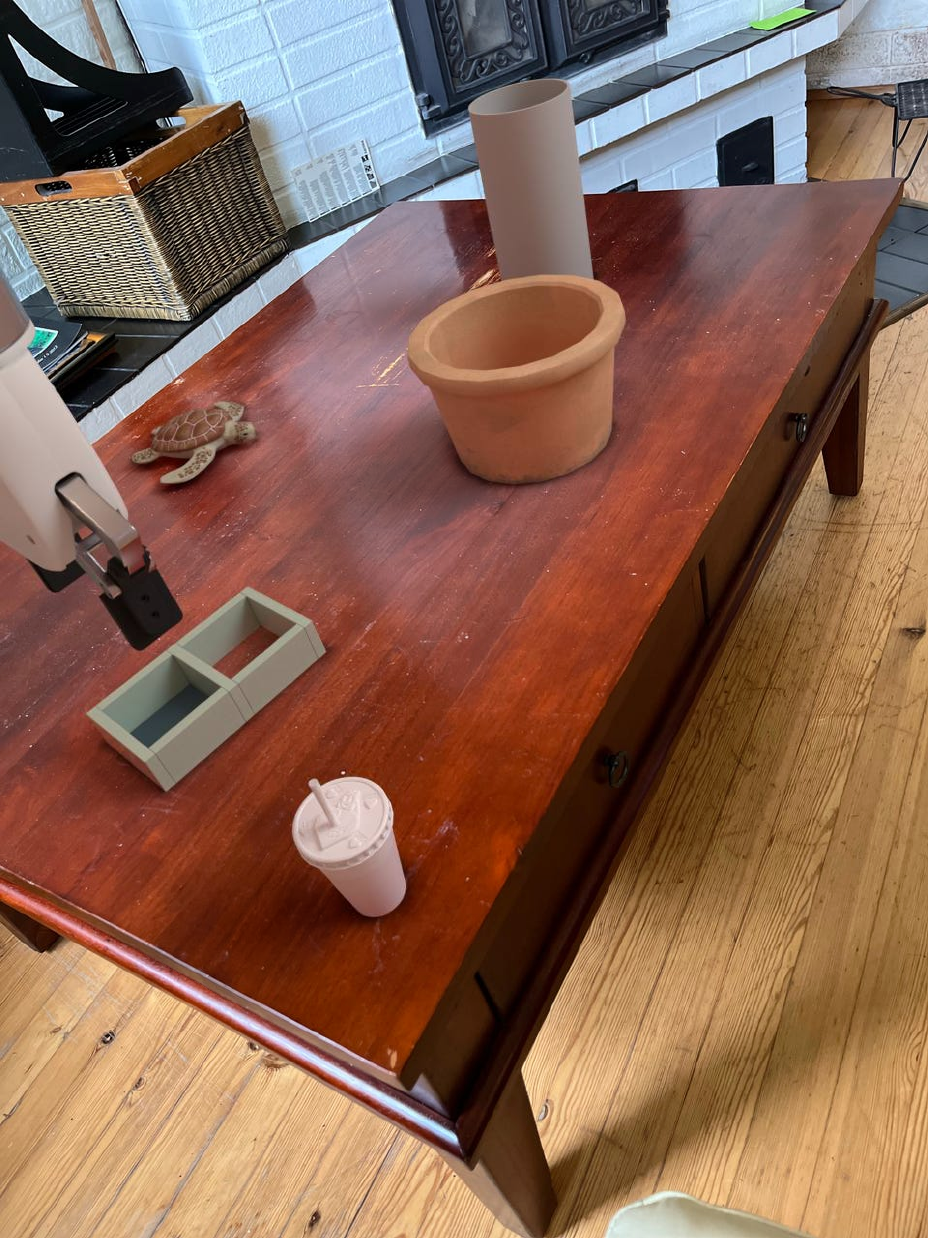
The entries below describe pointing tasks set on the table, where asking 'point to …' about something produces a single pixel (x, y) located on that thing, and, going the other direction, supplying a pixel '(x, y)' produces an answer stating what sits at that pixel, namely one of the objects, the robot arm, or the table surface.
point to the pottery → (523, 373)
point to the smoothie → (352, 842)
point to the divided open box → (204, 688)
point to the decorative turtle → (197, 438)
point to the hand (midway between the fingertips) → (114, 604)
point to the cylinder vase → (532, 179)
